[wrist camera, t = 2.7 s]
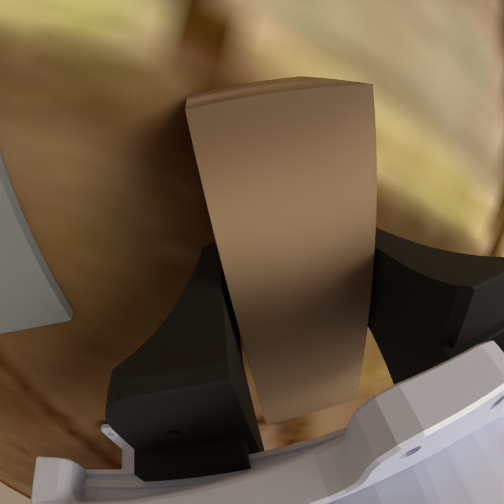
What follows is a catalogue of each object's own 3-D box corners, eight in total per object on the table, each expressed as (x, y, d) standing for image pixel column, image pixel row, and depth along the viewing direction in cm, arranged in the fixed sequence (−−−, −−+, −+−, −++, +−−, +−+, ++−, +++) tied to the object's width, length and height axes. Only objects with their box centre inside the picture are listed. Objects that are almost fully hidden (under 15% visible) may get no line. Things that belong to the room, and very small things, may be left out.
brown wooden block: (320, 322, 17) (356, 398, 12) (246, 342, 16) (266, 424, 12) (300, 76, 10) (372, 84, 6) (187, 95, 10) (185, 110, 6)
